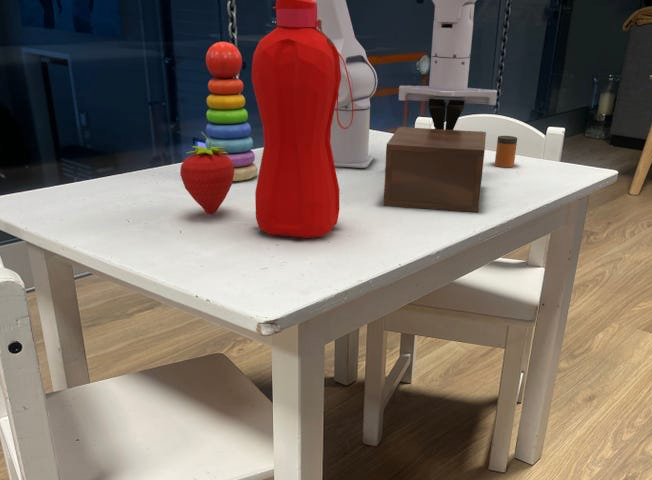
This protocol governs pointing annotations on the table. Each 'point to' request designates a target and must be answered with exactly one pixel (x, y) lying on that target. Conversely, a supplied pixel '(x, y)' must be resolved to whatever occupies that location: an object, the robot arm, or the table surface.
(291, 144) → the water bottle
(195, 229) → the table surface
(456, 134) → the cabinet
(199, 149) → the strawberry
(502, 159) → the spice bottle
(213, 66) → the stacking toy
